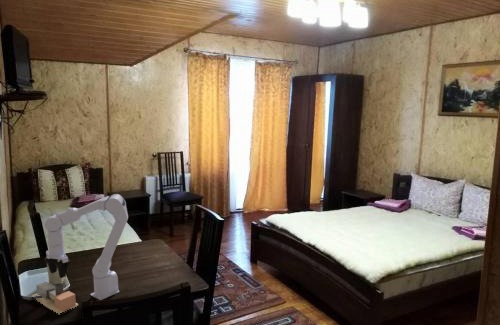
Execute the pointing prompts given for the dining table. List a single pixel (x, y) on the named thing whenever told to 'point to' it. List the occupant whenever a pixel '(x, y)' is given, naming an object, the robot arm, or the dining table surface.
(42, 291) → the grey sleeve
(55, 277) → the skincare box
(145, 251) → the dining table surface
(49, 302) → the birch board
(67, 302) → the socket block
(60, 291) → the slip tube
